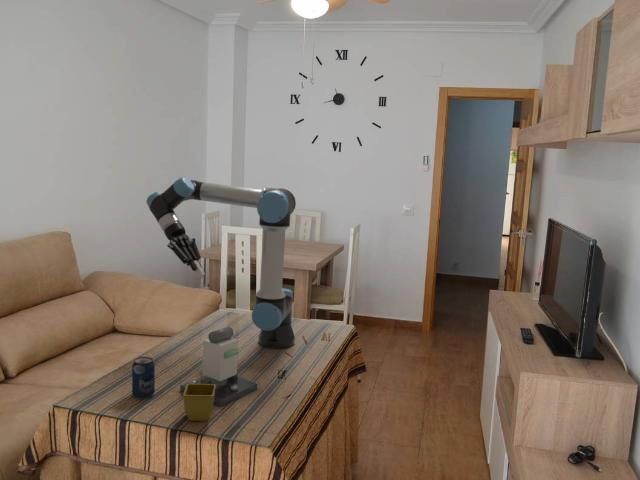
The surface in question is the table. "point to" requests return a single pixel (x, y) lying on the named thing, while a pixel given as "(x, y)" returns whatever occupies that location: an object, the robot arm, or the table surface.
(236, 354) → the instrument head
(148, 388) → the soda can
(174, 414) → the table surface
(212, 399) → the flower pot
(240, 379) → the levelling base
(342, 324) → the table surface
